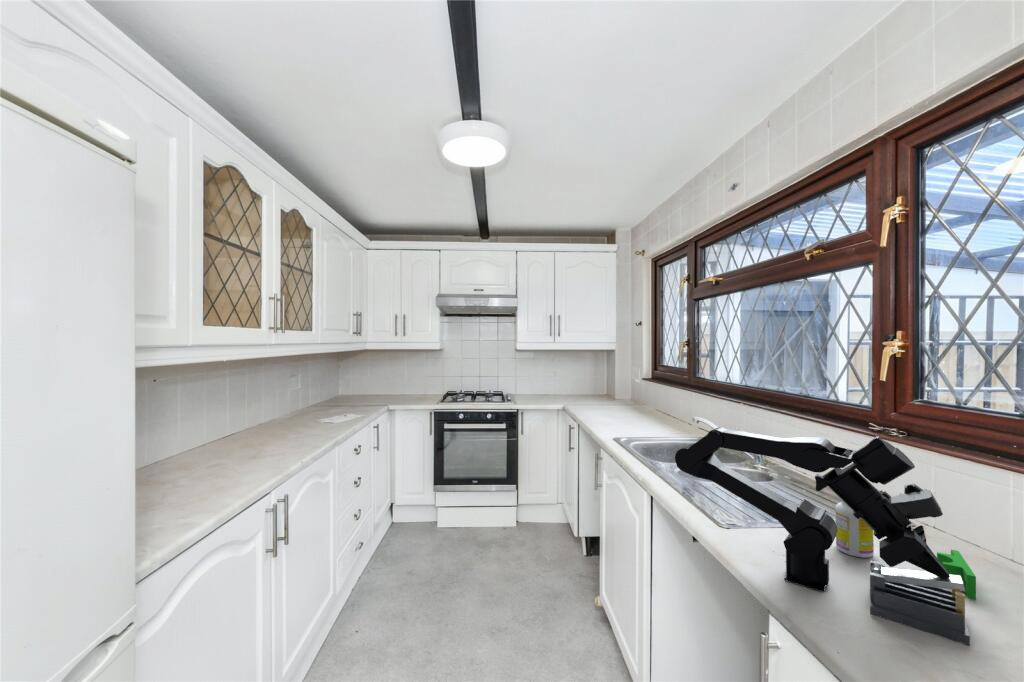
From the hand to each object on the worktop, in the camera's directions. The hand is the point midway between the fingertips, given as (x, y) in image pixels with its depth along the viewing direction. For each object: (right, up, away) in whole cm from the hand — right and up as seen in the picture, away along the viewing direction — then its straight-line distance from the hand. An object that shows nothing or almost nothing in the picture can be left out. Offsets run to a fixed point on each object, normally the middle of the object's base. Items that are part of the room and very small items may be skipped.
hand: (947, 577), depth 72 cm
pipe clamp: (+14, -8, +12) cm, 20 cm away
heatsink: (-3, -8, +3) cm, 9 cm away
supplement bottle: (+4, -8, +24) cm, 26 cm away
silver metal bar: (-3, -2, +3) cm, 5 cm away
